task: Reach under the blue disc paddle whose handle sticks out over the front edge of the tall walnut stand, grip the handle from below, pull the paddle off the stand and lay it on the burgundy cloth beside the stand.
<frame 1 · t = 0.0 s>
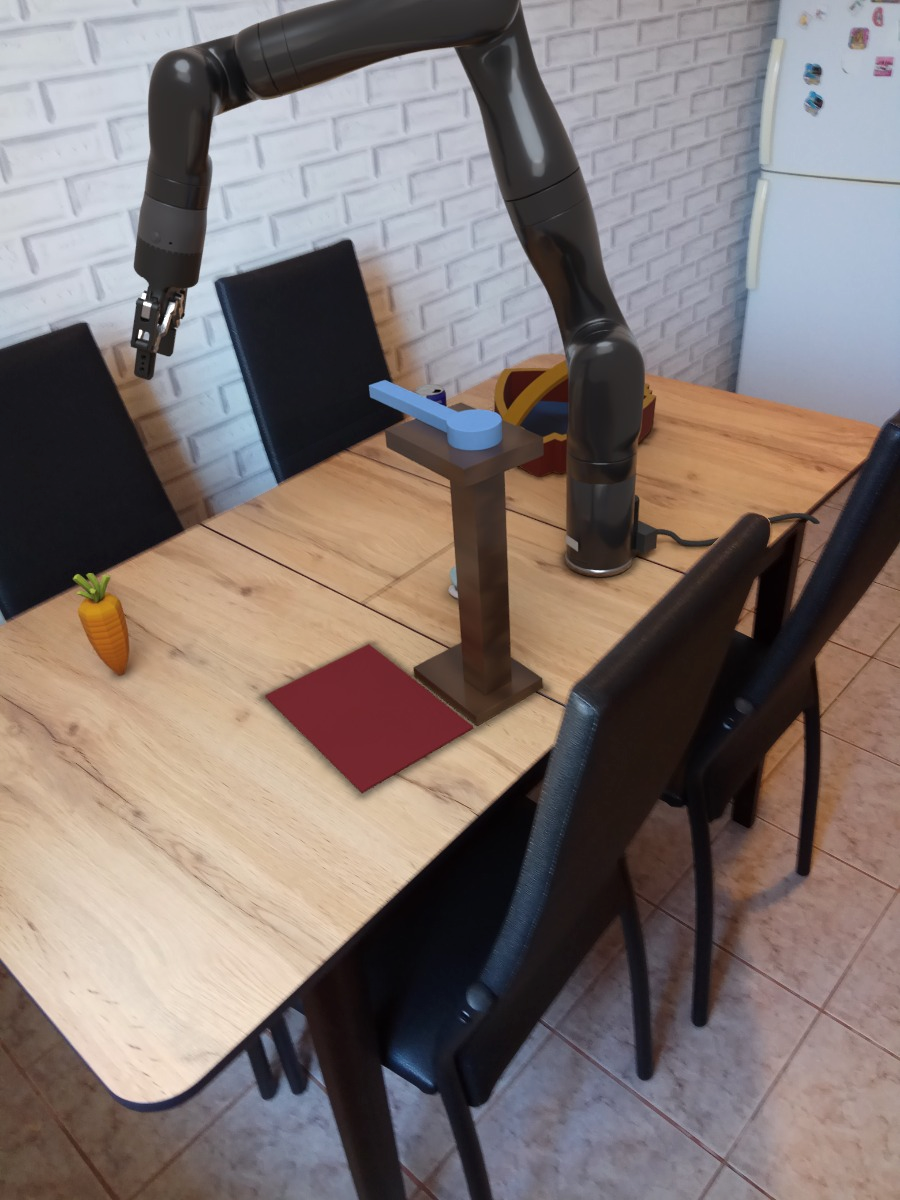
hand: (153, 365, 118), 31 cm above the table, tool tilted 20°, fingers open, 8 cm apart
cloth: (366, 712, 107), on the table
carrot: (121, 675, 117), on the table
pacifier: (473, 593, 127), on the table
energy drink: (435, 455, 164), on the table
blue disc paddle: (418, 412, 98), point 32 cm above the table, touching stand
stand: (477, 682, 111), on the table
decorative basket: (564, 437, 167), on the table
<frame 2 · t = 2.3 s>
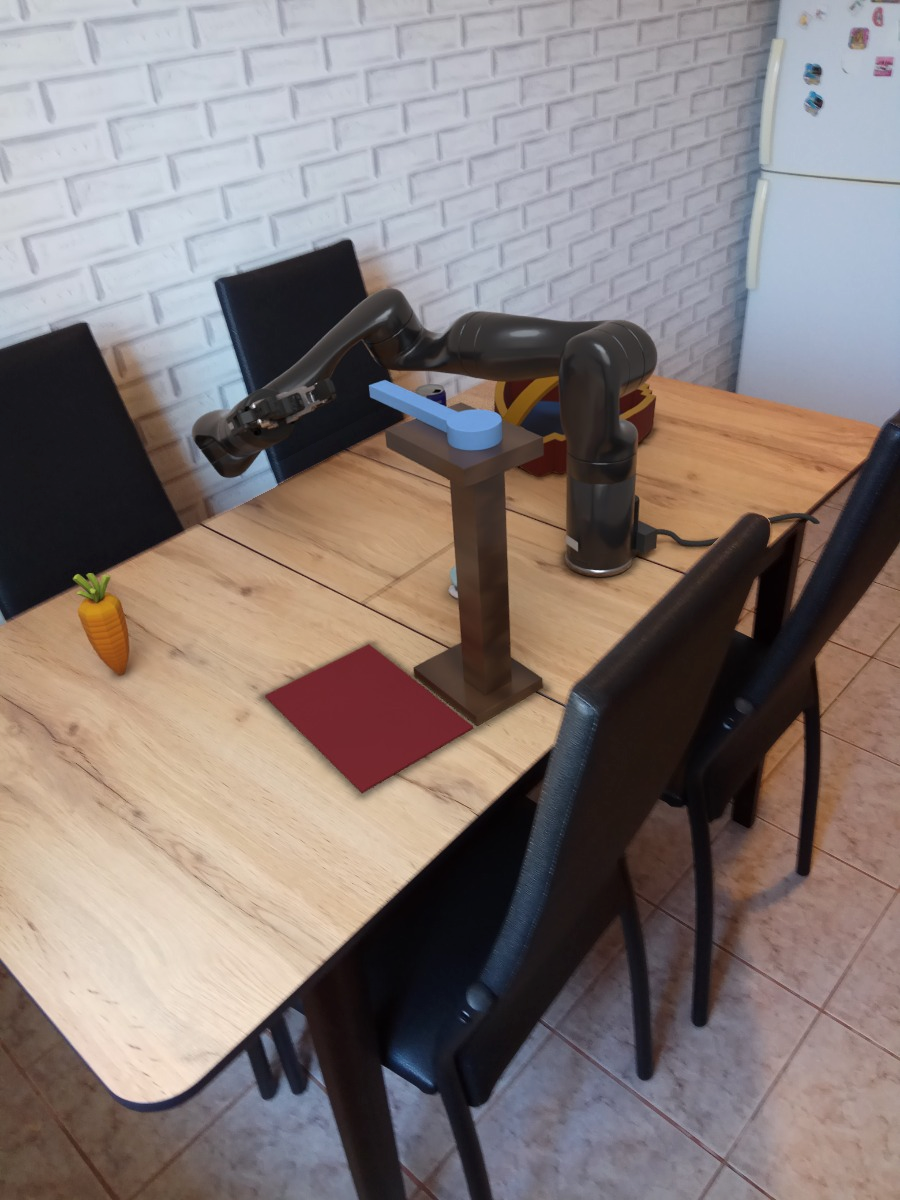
hand: (302, 395, 117), 27 cm above the table, tool pointing upward, fingers open, 8 cm apart
nothing on the table moved.
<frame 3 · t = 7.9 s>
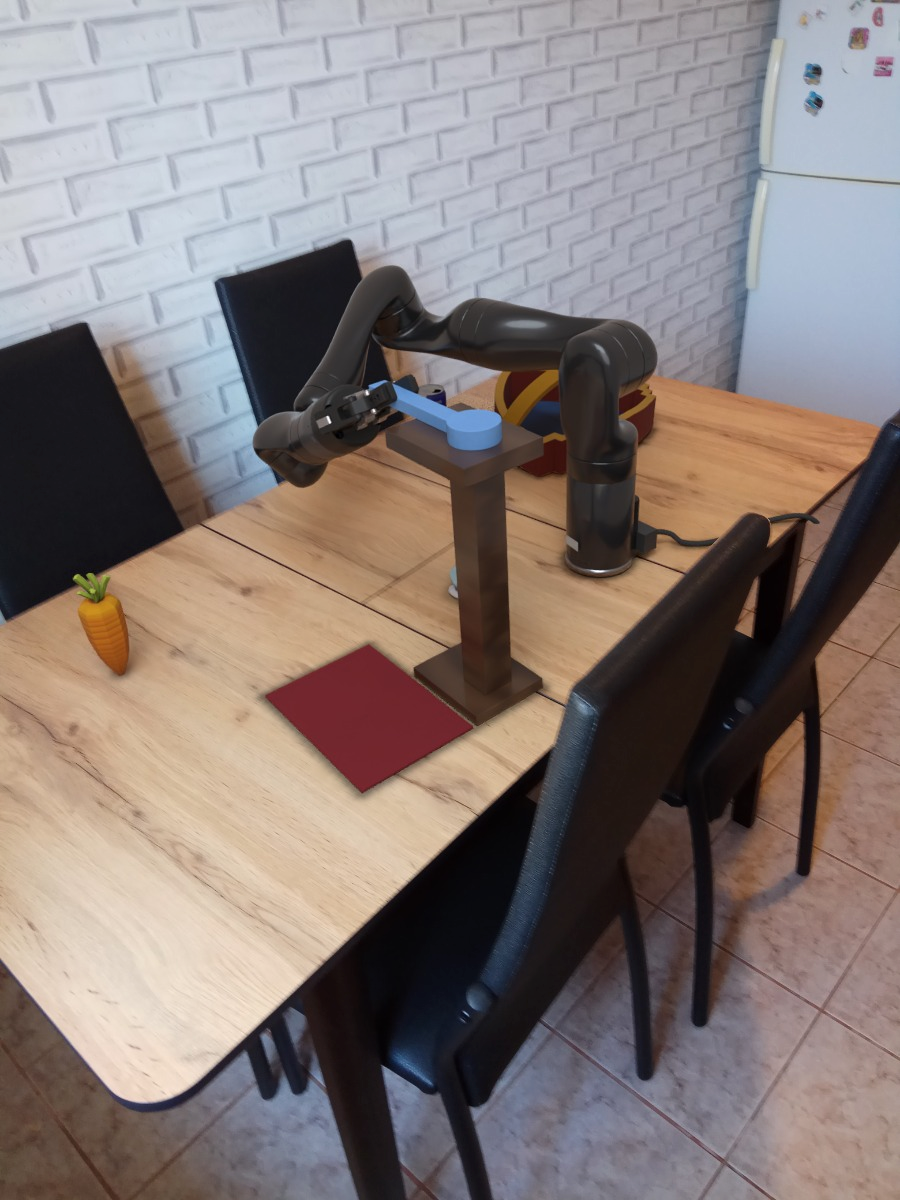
hand: (402, 387, 98), 34 cm above the table, tool pointing upward, fingers closed on blue disc paddle, 2 cm apart
blue disc paddle: (417, 412, 98), point 32 cm above the table, touching gripper, stand
everything else where it was.
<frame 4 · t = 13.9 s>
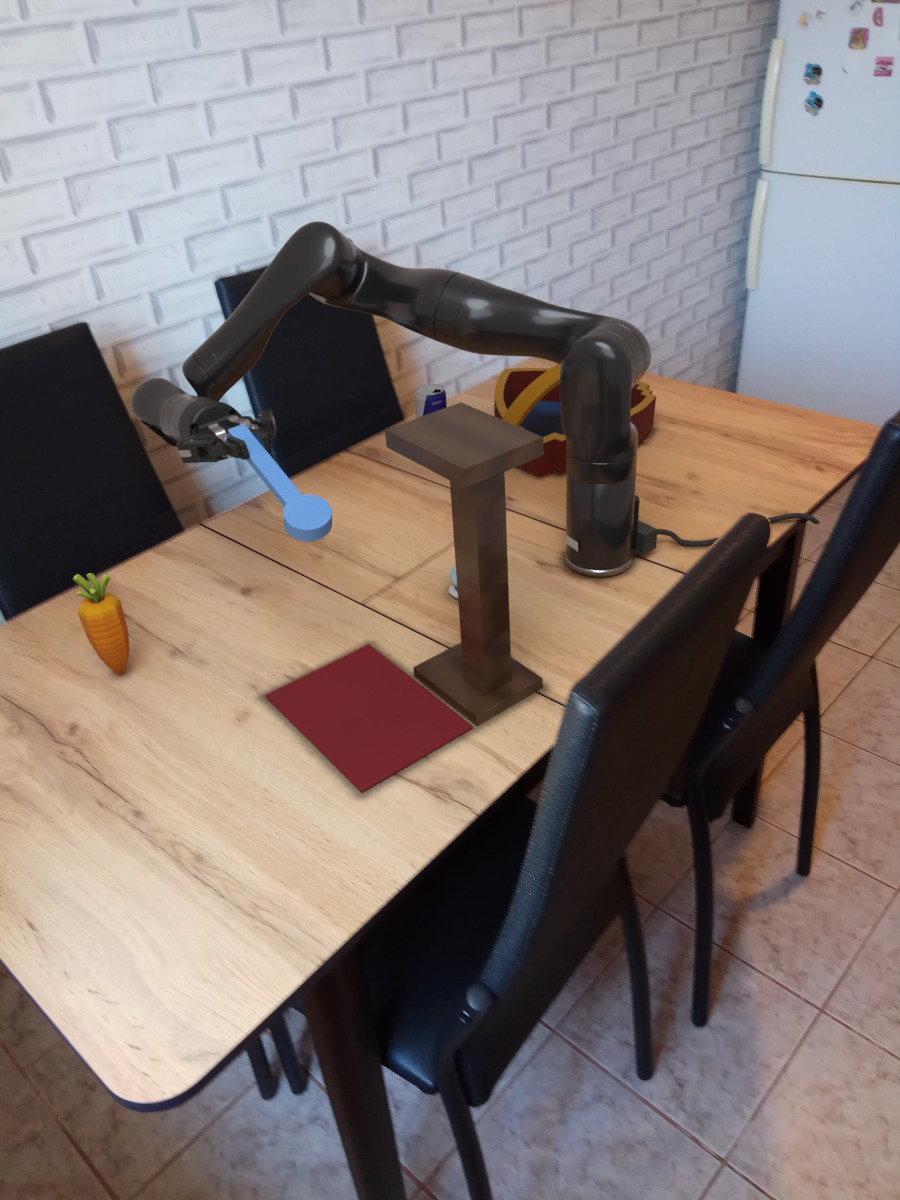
hand: (255, 446, 109), 26 cm above the table, tool horizontal, fingers closed on blue disc paddle, 2 cm apart
blue disc paddle: (267, 472, 109), point 23 cm above the table, tilted 20°, touching gripper
everything else where it was.
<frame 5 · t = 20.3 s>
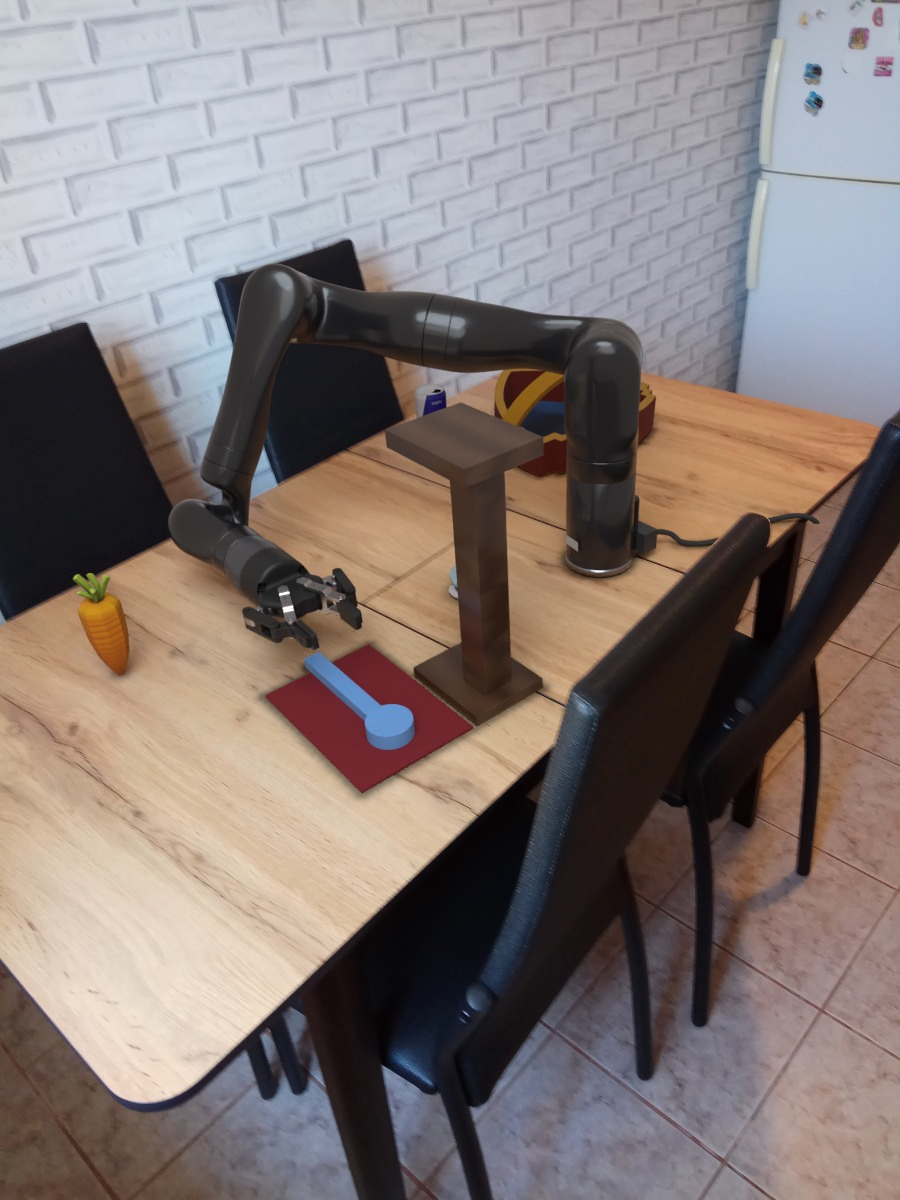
hand: (337, 632, 105), 9 cm above the table, tool horizontal, fingers open, 5 cm apart
blue disc paddle: (345, 692, 110), resting on cloth
everything else where it was.
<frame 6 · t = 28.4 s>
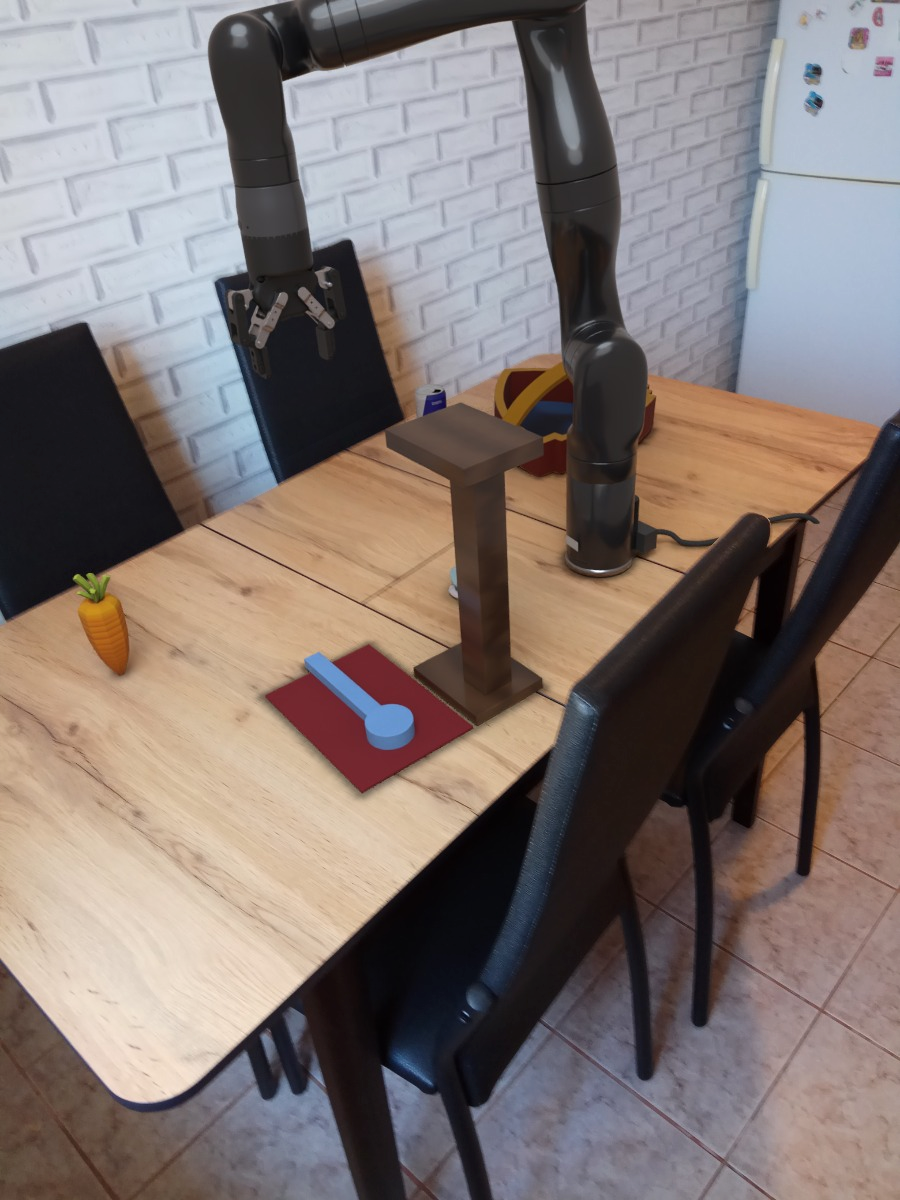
hand: (296, 367, 112), 32 cm above the table, tool pointing down, fingers open, 8 cm apart
nothing on the table moved.
at the end: blue disc paddle inside the target area on the cloth (4.3 cm from its centre), point 0.3 cm above the cloth's base; blue disc paddle touching cloth; the gripper is holding nothing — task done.
